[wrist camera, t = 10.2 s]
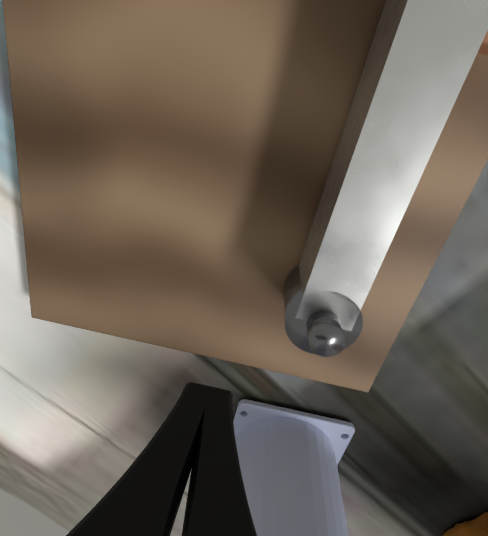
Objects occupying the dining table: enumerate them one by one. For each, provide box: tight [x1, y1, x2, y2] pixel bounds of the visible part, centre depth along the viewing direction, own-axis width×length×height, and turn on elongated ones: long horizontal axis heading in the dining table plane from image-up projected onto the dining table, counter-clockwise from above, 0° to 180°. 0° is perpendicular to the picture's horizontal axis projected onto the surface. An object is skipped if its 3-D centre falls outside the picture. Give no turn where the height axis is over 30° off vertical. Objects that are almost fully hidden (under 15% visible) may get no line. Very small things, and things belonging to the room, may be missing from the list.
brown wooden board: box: [3, 0, 488, 392], centre depth 14 cm, size 21×20×4 cm
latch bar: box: [283, 0, 488, 357], centre depth 12 cm, size 15×3×4 cm, turn 167°
